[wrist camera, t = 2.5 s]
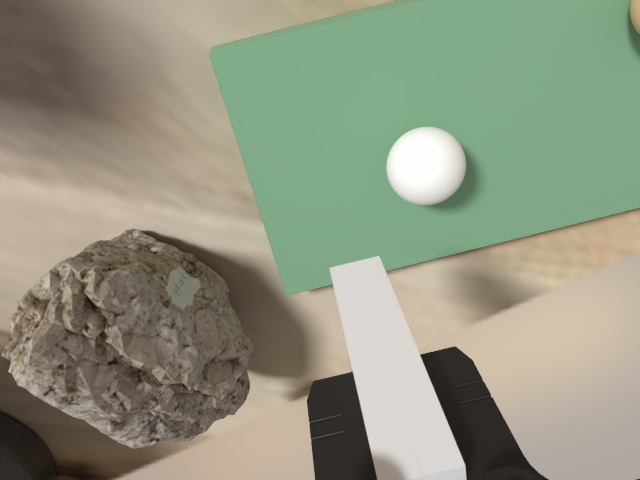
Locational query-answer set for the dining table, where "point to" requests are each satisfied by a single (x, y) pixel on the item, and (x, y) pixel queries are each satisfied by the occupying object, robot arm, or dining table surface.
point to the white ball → (426, 166)
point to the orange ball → (635, 14)
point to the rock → (132, 341)
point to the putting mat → (434, 125)
